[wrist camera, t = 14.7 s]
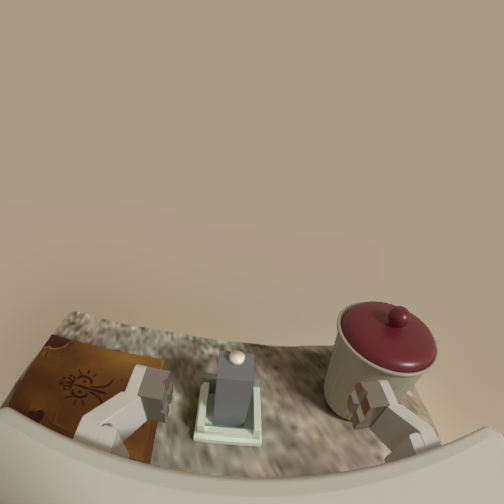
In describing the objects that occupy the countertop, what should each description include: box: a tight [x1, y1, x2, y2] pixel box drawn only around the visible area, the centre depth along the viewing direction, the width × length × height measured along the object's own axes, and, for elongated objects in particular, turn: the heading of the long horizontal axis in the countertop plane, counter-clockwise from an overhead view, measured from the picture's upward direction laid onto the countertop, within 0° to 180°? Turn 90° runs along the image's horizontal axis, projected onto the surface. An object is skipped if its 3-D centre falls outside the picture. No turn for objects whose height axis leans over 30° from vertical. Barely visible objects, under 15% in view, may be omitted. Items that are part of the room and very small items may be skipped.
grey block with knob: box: [213, 350, 255, 427], centre depth 35 cm, size 5×5×13 cm
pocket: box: [193, 373, 262, 446], centre depth 37 cm, size 10×11×5 cm
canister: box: [324, 302, 439, 421], centre depth 39 cm, size 18×18×21 cm
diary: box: [9, 335, 165, 464], centre depth 33 cm, size 23×19×6 cm
